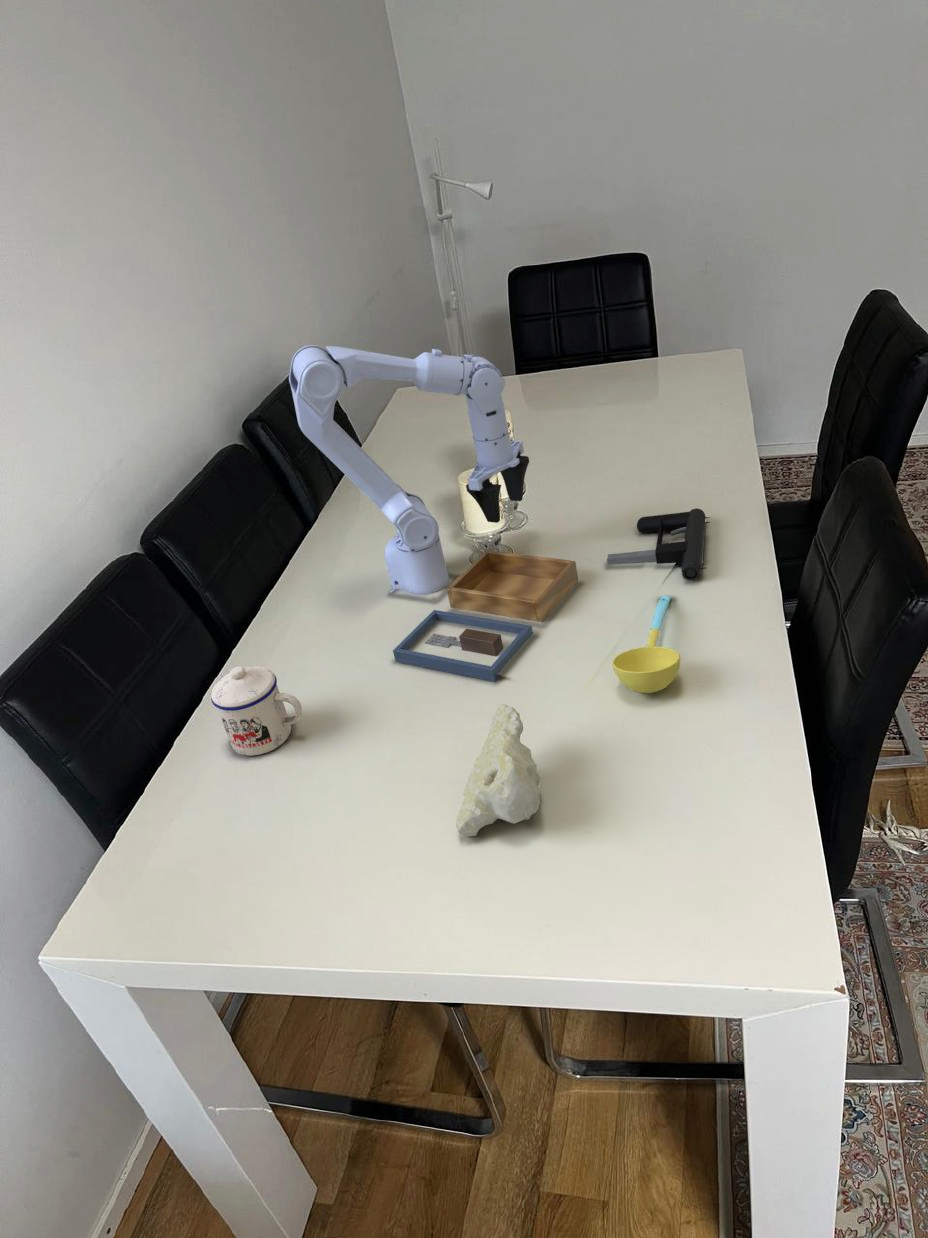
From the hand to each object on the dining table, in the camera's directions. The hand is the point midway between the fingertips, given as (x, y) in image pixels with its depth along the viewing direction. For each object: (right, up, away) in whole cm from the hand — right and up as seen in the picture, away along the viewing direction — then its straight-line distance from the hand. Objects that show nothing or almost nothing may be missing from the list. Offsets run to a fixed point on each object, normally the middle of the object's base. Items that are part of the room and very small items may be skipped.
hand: (505, 510), depth 162 cm
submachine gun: (+25, -7, -2) cm, 26 cm away
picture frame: (-7, -23, -16) cm, 28 cm away
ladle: (+20, -22, -25) cm, 39 cm away
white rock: (-2, -39, -44) cm, 59 cm away
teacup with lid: (-34, -35, -25) cm, 54 cm away
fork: (-7, -22, -16) cm, 28 cm away
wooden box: (+1, -15, -6) cm, 16 cm away
